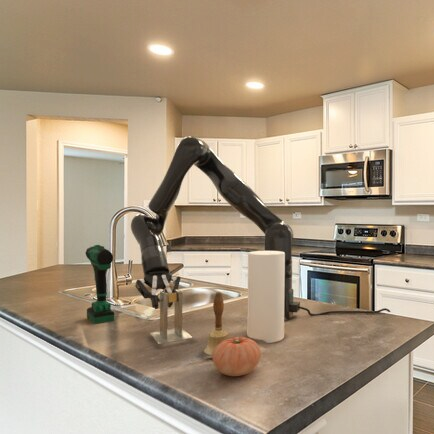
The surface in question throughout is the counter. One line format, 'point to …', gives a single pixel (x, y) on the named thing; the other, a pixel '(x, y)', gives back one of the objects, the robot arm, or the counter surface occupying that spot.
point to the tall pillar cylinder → (266, 295)
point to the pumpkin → (236, 356)
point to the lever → (169, 297)
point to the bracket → (165, 334)
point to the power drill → (100, 284)
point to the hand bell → (216, 326)
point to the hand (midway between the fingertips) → (163, 306)
